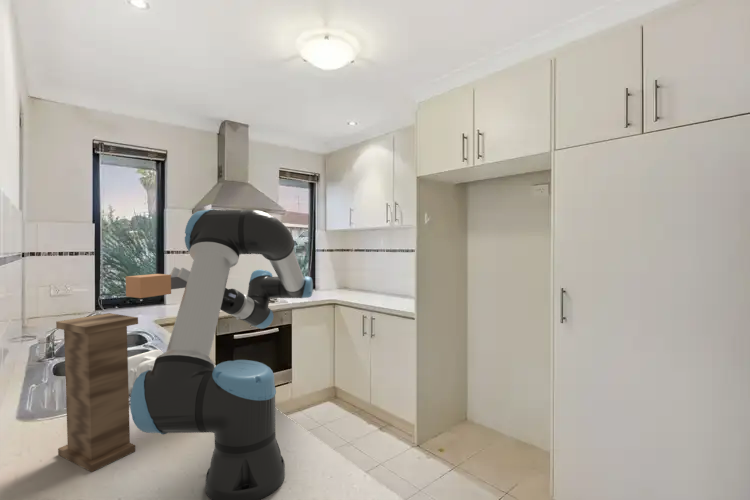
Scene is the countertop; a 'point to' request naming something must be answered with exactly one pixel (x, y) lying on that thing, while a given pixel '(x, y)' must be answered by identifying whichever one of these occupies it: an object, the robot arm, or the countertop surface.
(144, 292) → the plug
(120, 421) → the wooden pedestal
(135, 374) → the cable organizer
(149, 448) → the countertop surface
